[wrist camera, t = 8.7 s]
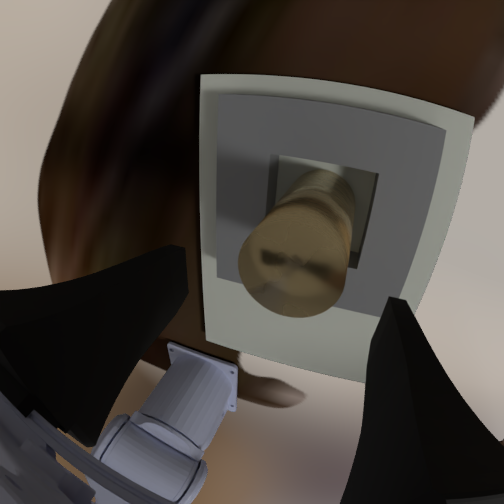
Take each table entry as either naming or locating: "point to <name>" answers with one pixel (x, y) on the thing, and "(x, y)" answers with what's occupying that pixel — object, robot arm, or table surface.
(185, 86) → the table surface
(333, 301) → the brass rounded knob
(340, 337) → the socket plate
